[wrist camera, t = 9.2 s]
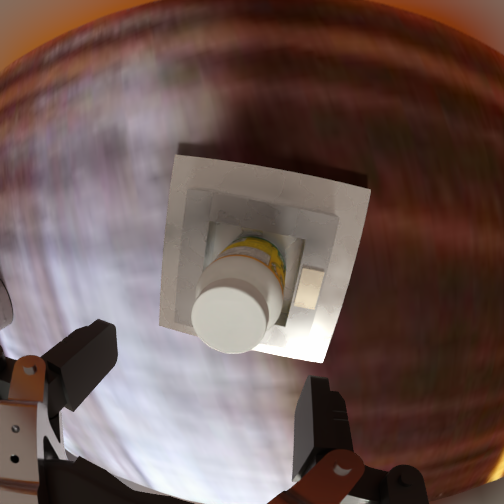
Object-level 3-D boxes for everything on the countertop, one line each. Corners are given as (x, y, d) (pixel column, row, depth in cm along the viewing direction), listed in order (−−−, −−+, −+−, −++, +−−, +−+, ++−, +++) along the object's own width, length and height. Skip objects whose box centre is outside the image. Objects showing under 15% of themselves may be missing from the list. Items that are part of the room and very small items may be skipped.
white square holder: (163, 320, 27) (147, 338, 24) (179, 155, 23) (161, 152, 19) (321, 357, 26) (324, 380, 22) (367, 189, 21) (381, 191, 18)
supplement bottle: (229, 226, 23) (187, 257, 14) (294, 245, 22) (294, 289, 13) (215, 287, 24) (172, 345, 15) (276, 304, 24) (264, 375, 15)
